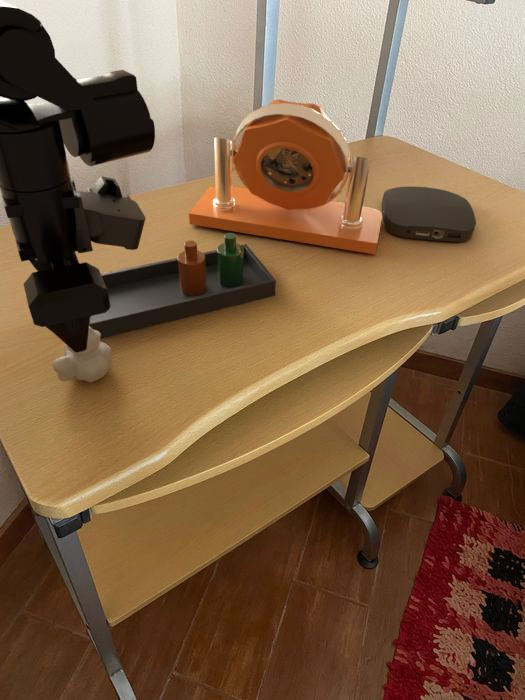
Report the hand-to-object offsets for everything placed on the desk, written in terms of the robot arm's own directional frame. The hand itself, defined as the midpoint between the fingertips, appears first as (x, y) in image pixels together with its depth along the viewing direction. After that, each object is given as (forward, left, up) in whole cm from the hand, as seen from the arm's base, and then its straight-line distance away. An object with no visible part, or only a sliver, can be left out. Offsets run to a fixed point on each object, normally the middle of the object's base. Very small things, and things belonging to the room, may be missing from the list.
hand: (72, 322), depth 54 cm
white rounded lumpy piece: (0, 0, -8) cm, 8 cm away
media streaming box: (+60, +16, -8) cm, 63 cm away
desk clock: (+37, +23, -8) cm, 44 cm away
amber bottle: (+17, +11, -7) cm, 21 cm away
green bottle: (+22, +11, -7) cm, 26 cm away
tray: (+14, +11, -8) cm, 19 cm away
